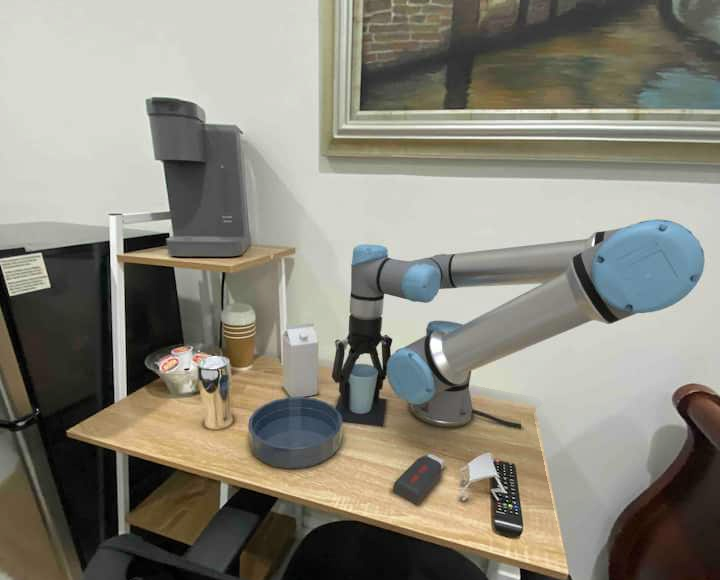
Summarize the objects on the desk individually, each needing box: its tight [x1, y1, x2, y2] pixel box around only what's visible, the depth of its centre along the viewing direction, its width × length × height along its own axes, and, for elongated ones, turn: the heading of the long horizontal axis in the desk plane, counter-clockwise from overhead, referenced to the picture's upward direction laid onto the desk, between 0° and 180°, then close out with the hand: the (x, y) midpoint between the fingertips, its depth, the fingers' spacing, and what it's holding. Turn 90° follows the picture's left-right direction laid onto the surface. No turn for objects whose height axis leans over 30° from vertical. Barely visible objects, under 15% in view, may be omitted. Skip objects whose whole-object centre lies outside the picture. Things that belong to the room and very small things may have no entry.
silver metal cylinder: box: [196, 355, 234, 430], centre depth 86 cm, size 7×7×15 cm
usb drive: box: [392, 453, 445, 506], centre depth 74 cm, size 5×12×3 cm, turn 143°
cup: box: [348, 363, 378, 414], centre depth 95 cm, size 8×8×10 cm
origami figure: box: [457, 452, 507, 501], centre depth 73 cm, size 12×8×5 cm
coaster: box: [335, 394, 387, 427], centre depth 97 cm, size 12×12×1 cm
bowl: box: [247, 396, 344, 469], centre depth 83 cm, size 19×19×5 cm
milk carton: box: [282, 322, 319, 398], centre depth 101 cm, size 7×7×19 cm
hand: (360, 403), depth 96 cm, fingers closed on cup, 7 cm apart
